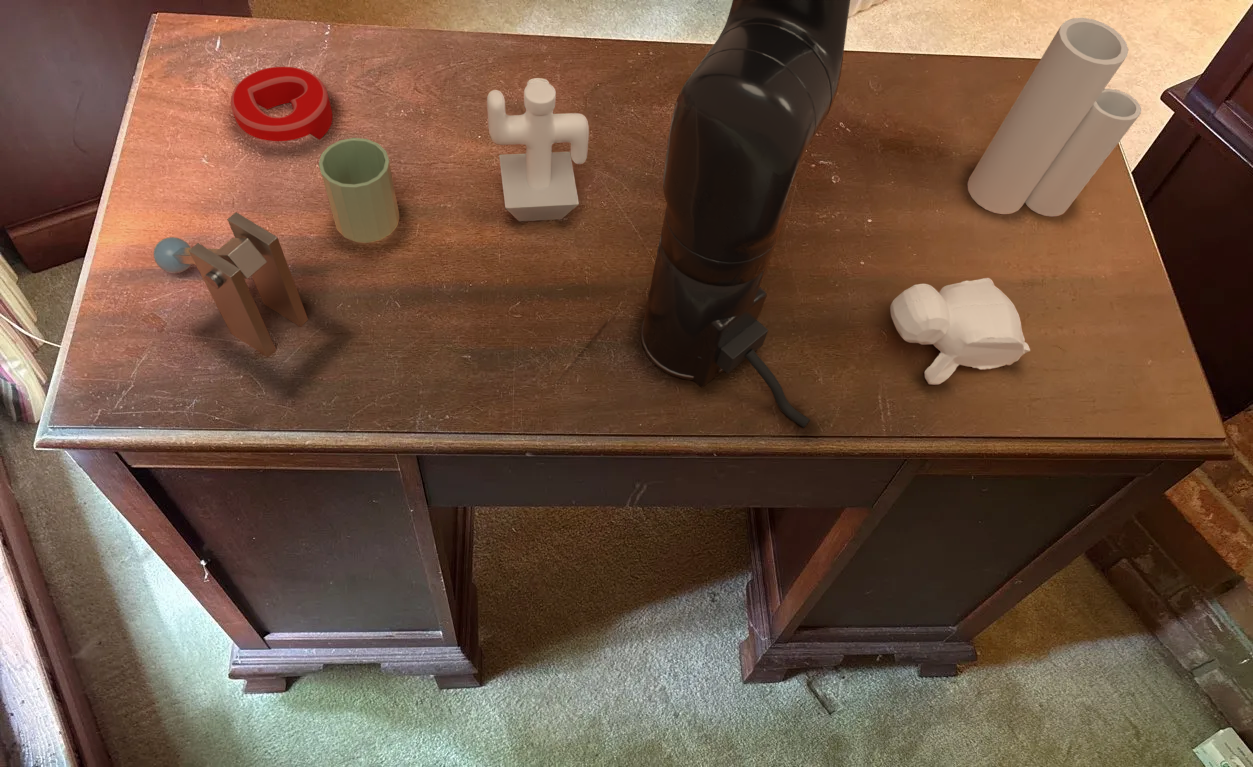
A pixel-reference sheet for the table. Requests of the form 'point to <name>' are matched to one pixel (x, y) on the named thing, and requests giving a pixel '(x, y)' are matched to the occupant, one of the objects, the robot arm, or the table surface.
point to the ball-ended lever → (236, 251)
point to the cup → (360, 189)
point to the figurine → (538, 153)
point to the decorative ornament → (280, 89)
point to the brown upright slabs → (236, 295)
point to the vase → (1058, 124)
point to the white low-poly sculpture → (960, 326)
